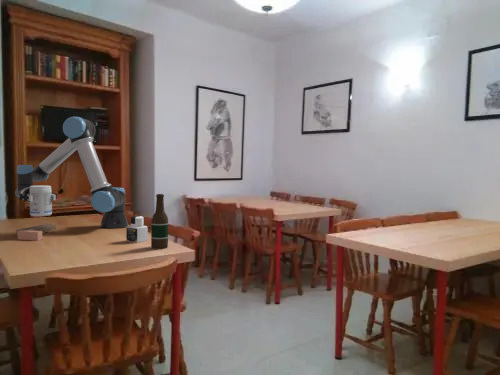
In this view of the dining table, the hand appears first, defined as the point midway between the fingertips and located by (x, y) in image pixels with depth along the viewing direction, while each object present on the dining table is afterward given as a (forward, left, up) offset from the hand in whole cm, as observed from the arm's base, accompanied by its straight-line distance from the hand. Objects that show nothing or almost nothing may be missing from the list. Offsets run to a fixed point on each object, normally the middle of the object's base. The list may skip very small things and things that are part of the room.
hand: (43, 198), depth 179 cm
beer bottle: (-63, +5, -20) cm, 66 cm away
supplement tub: (+4, -3, -9) cm, 10 cm away
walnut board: (+13, -11, -20) cm, 26 cm away
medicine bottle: (-47, -5, -20) cm, 51 cm away
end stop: (+3, +5, -20) cm, 21 cm away
